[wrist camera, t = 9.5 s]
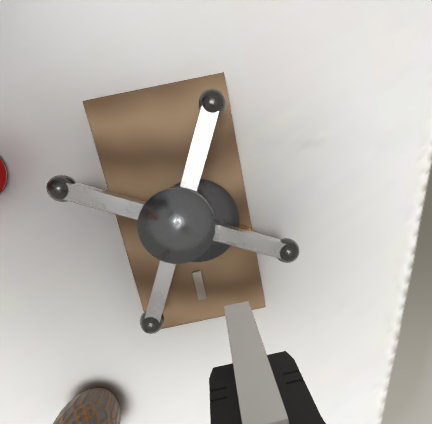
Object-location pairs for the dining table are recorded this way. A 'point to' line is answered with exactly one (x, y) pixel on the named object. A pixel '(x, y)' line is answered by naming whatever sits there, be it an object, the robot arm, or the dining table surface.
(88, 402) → the vase
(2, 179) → the beverage can
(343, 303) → the dining table surface
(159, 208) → the cam capstan
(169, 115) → the brown wooden board
